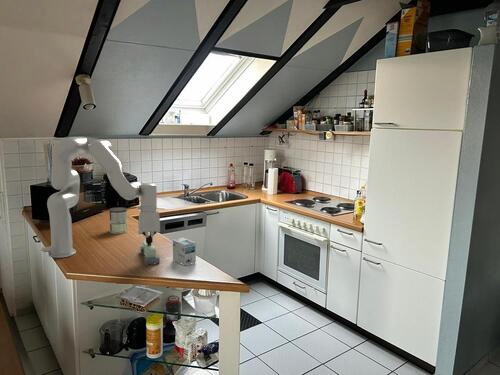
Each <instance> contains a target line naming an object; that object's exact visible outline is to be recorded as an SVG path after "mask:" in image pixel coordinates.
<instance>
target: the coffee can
mask: <svg viewBox="0 0 500 375" xmlns="http://www.w3.org/2000/svg"><path fill="white" fill-rule="evenodd" d="M108 210H109V232H110V234H116V235H117V234H124V233H127V232H128V208H127V207H122V206H120V207H119V206H118V207H111V208H109V209H108Z"/></svg>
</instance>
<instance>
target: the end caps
mask: <svg viewBox="0 0 500 375" xmlns="http://www.w3.org/2000/svg"><path fill="white" fill-rule="evenodd" d="M139 254H140V255H143V257H144V264H152V265H155V264H154V263H160V256H159V254H158V255H157V254H156V257H155V258H147V257H146V256H144V254H143V245H142V246H139Z"/></svg>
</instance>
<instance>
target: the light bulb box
mask: <svg viewBox="0 0 500 375" xmlns="http://www.w3.org/2000/svg"><path fill="white" fill-rule="evenodd" d="M173 260H175V261H177V262H176V263H178V262H179V263H178V264H180V263H182V264H184V265H187V266H189V265H188V264H190V265H192V264H191V263H194V264H196V263H197V242H196V241H193V240H190V239H187V238H185V237H180V238H175V239H172V261H173ZM175 261H174V262H175ZM195 262H196V263H195ZM182 264H181V265H182ZM184 265H183V266H184Z"/></svg>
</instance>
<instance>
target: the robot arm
mask: <svg viewBox="0 0 500 375" xmlns="http://www.w3.org/2000/svg"><path fill="white" fill-rule="evenodd" d="M83 154H84V155H90V156H91V157H92V159H93V160H94V161H95V162H96V163H97V164H98V165H99V167H101V168H102V170H103V171H104V172H105V174H106V175H107V178H108V180H109V182H110V185H111V187H112V188H113V189H114V190H115V191H116V192H117V193H118V194H119V196H120V197H121V198H123V199H124V200H127V201H131V200H134V199H136V198H139V197H140V205H139V206H137V210H140V211H139V213H138V222H137V223H138V224H137V225H138V226H137V227H138V231H137V234H138V235H143V236H144V237H145V240H146V243H147V244H148V245H151V243H152V244H153V240H154V239H153V237H154V236H155V235H156V234H158V233H161V221H160V220H161V219H160V218H161V217H160V212H159V210H158V207H157V206H158V205H157V204H158V203H157V200H158V199H157V195H158V194H157V192H158V191H157V184H156V183H152V182H147V183H145V182H140V181H133V182H130V181H128V180H127V178H126V177H125V175H124V174H123V170H122V161H120V160H119V158H118V157H117V156H116V155H115V154H114V152H113V146H112V144H111V142H110V141H109V140H106V139H101V138H95V137H94V138H93V137H87V136H68V137H65V138H62V139H60V140H58V141H57V142H56V143H55V144H54V146H53V148H52V163H51V165H52V166H51V178H50V180H51V181H50V182H51V187H52V188H54V189H55V190H57V191H58V192H57V191H56V192H55V193H53V194H51V195H50V196H49V197H48V198H47V202H46V206H47V209H48V210H47V211H48V215H49V225H50V242H51V245H50V246H46V247H45V246H44V247H43V246H42V247H41V252H43V253H47V252H48V257H50V258H53V259H54V258H55V259H56V258H57V259H61V258H62V259H63V258H68V257H72V256H74V255H75V254H76V253H77V250H76V249H75V248H73V246H74V245H73V229H72V228H73V227H72V226H73V224H72V216H71V213H70V209H71V208H73V207H75V206H76V205H77V204H78V202H79V199H80V186H81V178H80V174H79V173H78V172H77V170H75V169H73V168H72V167H73V163H72V162H73V161H72V156H73V155H75V156H76V155H83Z"/></svg>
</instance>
